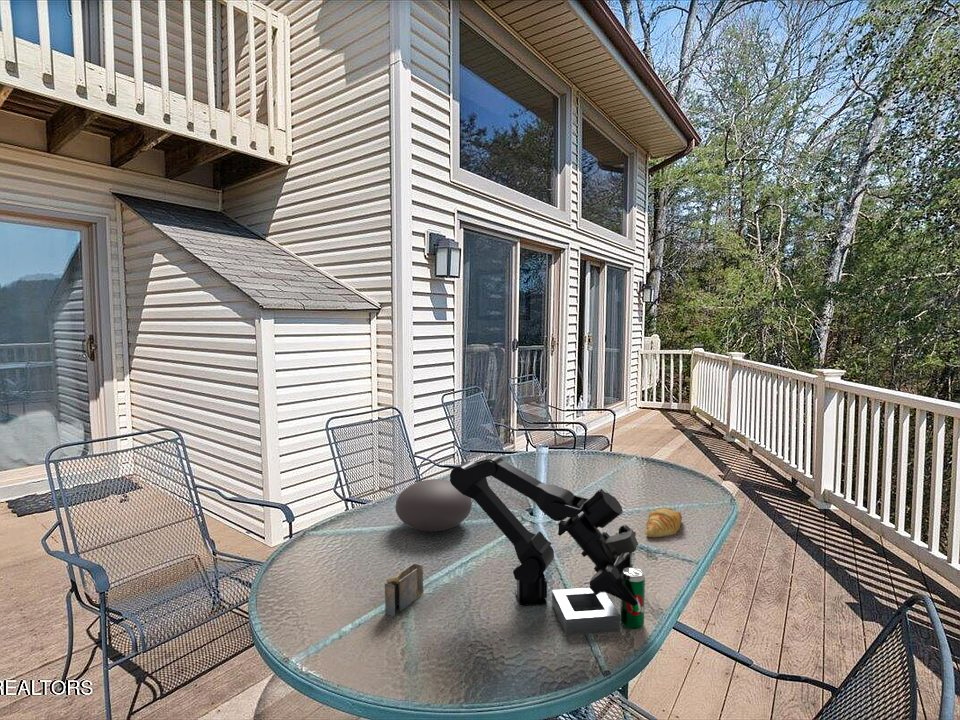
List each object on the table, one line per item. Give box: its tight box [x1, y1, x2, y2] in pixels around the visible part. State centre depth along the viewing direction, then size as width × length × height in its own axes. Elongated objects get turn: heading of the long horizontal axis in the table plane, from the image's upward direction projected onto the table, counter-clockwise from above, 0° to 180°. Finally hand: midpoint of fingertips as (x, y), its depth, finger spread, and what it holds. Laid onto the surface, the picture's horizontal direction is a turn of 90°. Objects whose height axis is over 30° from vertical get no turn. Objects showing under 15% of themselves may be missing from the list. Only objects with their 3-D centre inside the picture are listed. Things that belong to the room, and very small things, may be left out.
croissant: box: [645, 507, 683, 538], centre depth 166 cm, size 21×10×8 cm, turn 135°
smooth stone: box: [394, 478, 473, 533], centre depth 169 cm, size 25×25×15 cm
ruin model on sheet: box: [384, 562, 424, 617], centre depth 123 cm, size 11×3×10 cm, turn 151°
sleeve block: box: [551, 587, 621, 636], centre depth 117 cm, size 12×12×4 cm
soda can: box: [619, 567, 646, 631], centre depth 114 cm, size 5×5×12 cm
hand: (639, 596), depth 113 cm, fingers open, 6 cm apart
